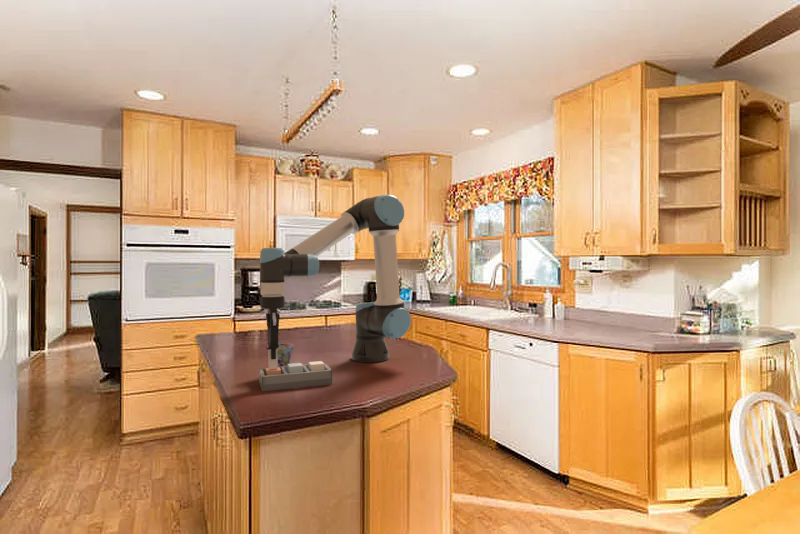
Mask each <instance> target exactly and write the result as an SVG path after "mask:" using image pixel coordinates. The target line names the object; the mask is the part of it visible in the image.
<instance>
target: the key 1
mask: <svg viewBox="0 0 800 534" xmlns="http://www.w3.org/2000/svg"><path fill="white" fill-rule="evenodd" d="M265 368H266V376H268V375H279V374H281V369H280V367H278V369H269V367H265Z"/></svg>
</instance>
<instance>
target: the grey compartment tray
mask: <svg viewBox="0 0 800 534" xmlns="http://www.w3.org/2000/svg"><path fill="white" fill-rule="evenodd" d="M323 363H324V370H322V371H310V370H309V363H305V364H303V363H302V365H303V372H300V373H290V374H289V373H288V366H281V367H280V369H281V374H279V375H268V376H266V368H267V367H260V368H258V383H259V385H260V389H261V391H262V392H270V391H278V390H288V389H289V390H291V389H299V388H306V387H307V388H308V387H317V386H326V385H333V370H332V368H331V367H330V366H329V365H328V364H327V363H325V362H323Z"/></svg>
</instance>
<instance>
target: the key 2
mask: <svg viewBox="0 0 800 534" xmlns="http://www.w3.org/2000/svg"><path fill="white" fill-rule="evenodd" d="M324 363H325V362H323V360H320V361H319V360H318V361H308V364H309V370H310V371H322V370H324Z"/></svg>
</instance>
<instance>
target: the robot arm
mask: <svg viewBox="0 0 800 534" xmlns="http://www.w3.org/2000/svg"><path fill="white" fill-rule="evenodd" d="M404 217H405V208H404V205H403V204H402V201H401V200H399V198H398V197H396V196H394V195H392V194H381V195H376V196H372V197H367V198H364V199H361V200H360V201H358V202H356V203H355V204H353V205H352V206H351V207H349V208H348V209H347V210H345V211H343V212H342V213H341V214H340V217H339V218H337V219H335V220H334V221H332V222H331V223H329V224H328V225H327V226H324V227H323V228H322V229H320V230H319V231H317V232H315V233H314V234H312V235H311V236H309V237H307V238H306V239H304V240H303V241H301V242H299V244H297V245H295V246H293V247H292V248H291V249H288V250H287V251H285V249H284V247H283V248H282V247H263V248H261V250H260V253H259V254H260V255H259V274H260V277H259V278H260V281H259V283H260V285H258V289H259V290H260V295H261V296H260V297H259V299H260V300H259V301H260V302H259V303H260V305H259V306H260V309H264V310H267V313H265V319H266V328H267V346H268V347H267V346H266V350H267V349H268V350H267V352H268V360H267V361H268V363H267V364H268V368H269V369H278V352H277V348H278V347H279V345H278V344H279V326H280V318H281V317H280V313H279V312H278V309H283V308H284V307H285V303H286V301H285V296H284V295H285V293H286V292H285V288H286V287H285V285H286V283H285V278H286V277H287V278H289V277H294V278H295V277H300V278H301V277H307V278H309V277H315V276H317V274H318V273H319V270H320V260H319V258H318V256H320V255H322V254H323V253H324V252H326V251H328V250H329V249H330V248H332V247H334V246H335V245H336V244H338V243H339V242H341V241H343V240H344V239H346V238H347V237H349V236H350V235H351V234H353V235H356V234H357V233H359V232H361V231H363V230H366V229H368V233H370V235H371V236H372V239H373V240H372V241H373V251H374V253H373V254H374V267H375V268H374V269H375V270H374V271H375V279H376V280H375V282H376V283H375V286H376V297H377V298H376V300H375V301H372V302H371V301H370V302H360V303H357V304H356V305H355V312H354V314H355V343H354V345H353V347H352V352H351V360H352V361H354V362H358V363H359V362H360V363H379V362H384V361H388V359H389V358H390V353H389V349H388V346H387V344H386V340H385V337H386V338H388V339H399V338H402V337H404V336H405V335H406V334H407V332H408V331H409V329H410V328H411V324H412V317H411V314H410V312H409V311H408V310H407V309H406V308H405V302H404V300H403V299H402V298H401V297H400V279H399V268H398V267H399V266H398V265H399V264H398V251H397V248H398V247H397V234H398V232H400V224H401V223H402V222H403V220H404Z"/></svg>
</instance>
